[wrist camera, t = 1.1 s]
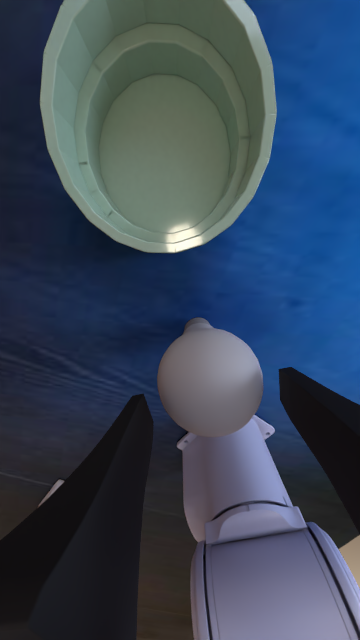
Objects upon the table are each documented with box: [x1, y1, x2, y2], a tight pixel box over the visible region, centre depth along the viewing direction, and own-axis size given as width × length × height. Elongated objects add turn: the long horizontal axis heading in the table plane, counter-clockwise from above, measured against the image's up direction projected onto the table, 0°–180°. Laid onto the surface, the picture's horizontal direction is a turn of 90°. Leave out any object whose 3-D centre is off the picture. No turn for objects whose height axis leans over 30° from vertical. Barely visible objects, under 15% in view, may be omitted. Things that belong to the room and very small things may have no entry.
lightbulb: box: [157, 318, 263, 437], centre depth 14 cm, size 6×6×11 cm
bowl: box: [40, 0, 277, 253], centre depth 12 cm, size 12×12×5 cm
